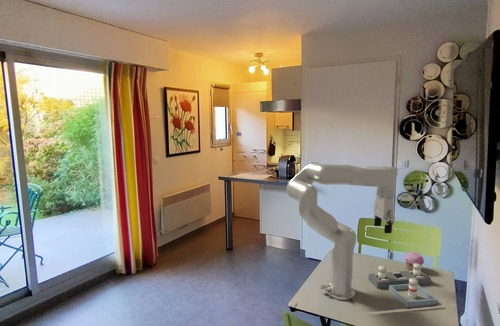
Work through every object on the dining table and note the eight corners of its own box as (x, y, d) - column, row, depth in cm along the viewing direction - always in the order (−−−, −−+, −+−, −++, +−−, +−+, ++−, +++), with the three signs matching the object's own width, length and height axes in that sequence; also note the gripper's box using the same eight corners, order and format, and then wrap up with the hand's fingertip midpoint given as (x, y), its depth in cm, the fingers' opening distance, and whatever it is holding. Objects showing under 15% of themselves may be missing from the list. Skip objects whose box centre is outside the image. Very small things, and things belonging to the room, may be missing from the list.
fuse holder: (377, 290, 148) (377, 281, 147) (368, 281, 156) (368, 273, 155) (430, 285, 152) (430, 277, 151) (419, 277, 160) (419, 269, 159)
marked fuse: (410, 299, 139) (412, 282, 138) (405, 295, 142) (407, 278, 141) (418, 299, 140) (419, 281, 138) (412, 294, 143) (414, 277, 142)
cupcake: (413, 266, 172) (414, 248, 170) (427, 273, 163) (428, 255, 162) (400, 268, 169) (401, 250, 167) (413, 276, 161) (414, 257, 159)
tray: (407, 308, 134) (407, 302, 133) (388, 291, 147) (388, 285, 146) (436, 306, 135) (437, 299, 135) (415, 289, 149) (416, 283, 148)
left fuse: (380, 285, 150) (381, 269, 149) (376, 281, 154) (377, 265, 153) (386, 284, 151) (387, 268, 150) (382, 281, 154) (383, 265, 153)
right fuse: (415, 282, 153) (416, 266, 152) (410, 278, 156) (411, 263, 155) (421, 281, 153) (423, 266, 152) (417, 278, 157) (418, 262, 156)
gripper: (369, 189, 155) (366, 223, 158) (386, 197, 138) (383, 236, 141) (383, 189, 156) (381, 223, 158) (403, 198, 139) (400, 236, 141)
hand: (382, 229), depth 149 cm, fingers open, 9 cm apart
